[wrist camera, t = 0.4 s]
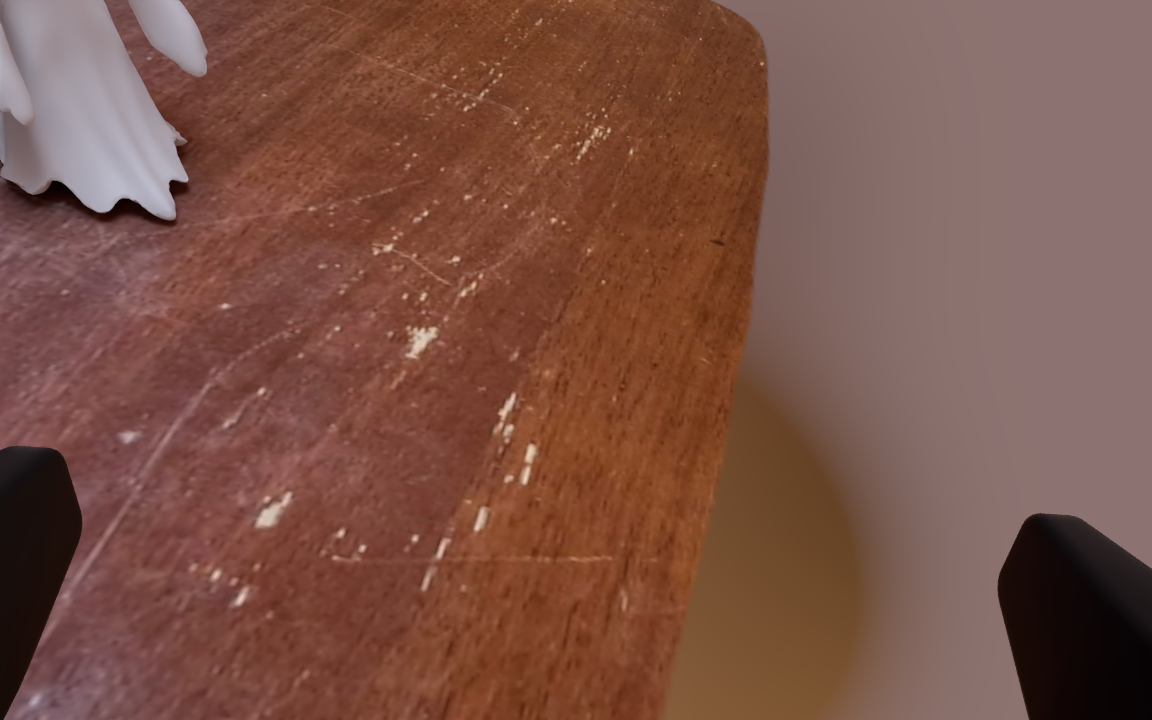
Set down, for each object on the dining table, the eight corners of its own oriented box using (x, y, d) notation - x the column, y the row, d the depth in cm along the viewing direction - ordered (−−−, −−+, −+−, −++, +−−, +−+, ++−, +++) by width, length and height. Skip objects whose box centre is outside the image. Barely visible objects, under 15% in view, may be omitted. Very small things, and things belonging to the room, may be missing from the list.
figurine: (125, 86, 35) (87, -277, 27) (265, 188, 33) (270, -176, 25) (-84, 144, 30) (-210, -284, 22) (64, 269, 27) (-13, -156, 19)
